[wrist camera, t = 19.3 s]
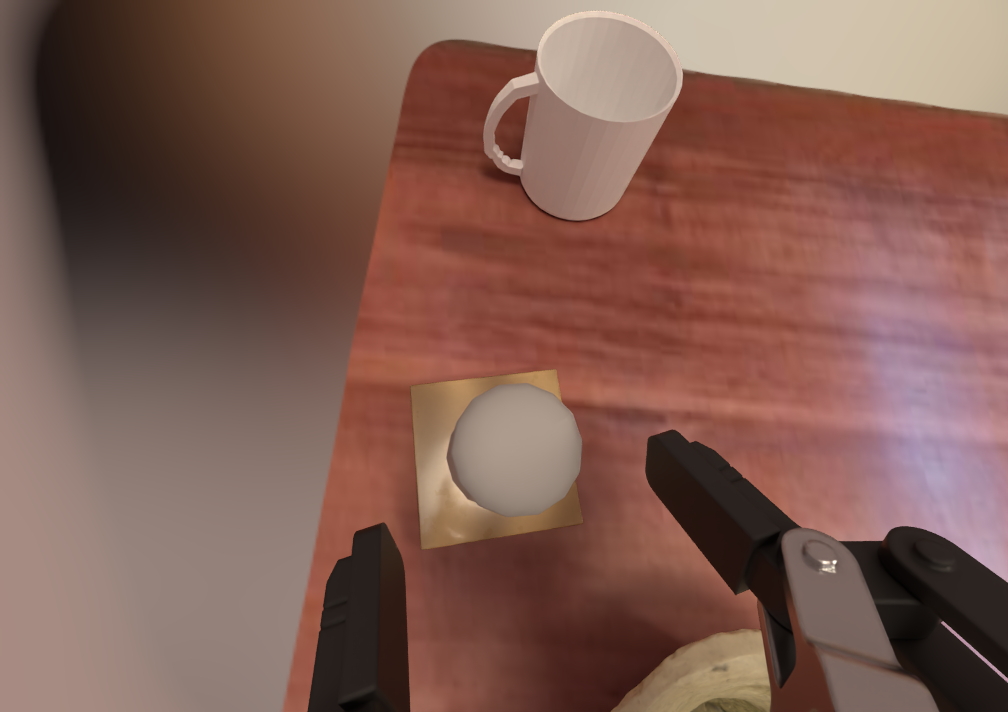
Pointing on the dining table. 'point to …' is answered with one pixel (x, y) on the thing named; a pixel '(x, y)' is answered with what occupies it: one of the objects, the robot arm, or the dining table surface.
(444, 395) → the wooden square board
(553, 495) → the salt shaker
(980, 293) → the dining table surface
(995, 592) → the robot arm
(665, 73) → the mug
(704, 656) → the bowl
